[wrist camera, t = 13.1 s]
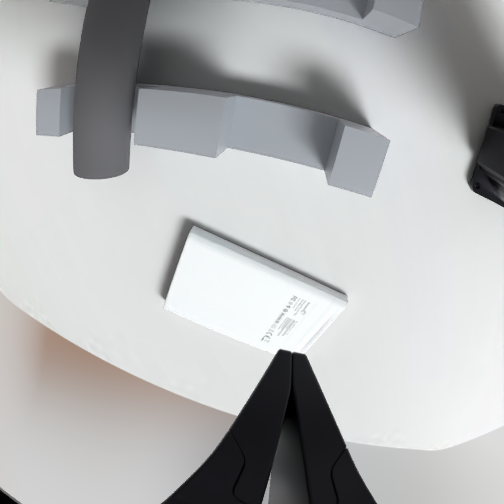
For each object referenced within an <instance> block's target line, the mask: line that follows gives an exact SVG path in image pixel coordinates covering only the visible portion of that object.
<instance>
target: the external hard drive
mask: <svg viewBox="0 0 504 504" xmlns="http://www.w3.org/2000/svg"><path fill="white" fill-rule="evenodd" d="M347 303H348V299H347V296H346V295H344V294H342V293H340V292H337V291H335V290H333V289H331V288H329V287H327V286H325V285H322V284H320V283H318V282H316V281H314V280H312V279H309V278H307V277H305V276H303V275H301V274H299V273H297V272H294V271H292V270H290V269H288V268H286V267H283V266H281V265H279V264H277V263H275V262H273V261H270V260H268V259H266V258H264V257H262V256H259V255H257V254H255V253H253V252H251V251H249V250H246V249H244V248H242V247H240V246H238V245H236V244H233V243H231V242H229V241H227V240H225V239H222V238H220V237H218V236H216V235H214V234H212V233H209V232H207V231H205V230H203V229H201V228H198V227H196V226H193V228H192V229H191V230H190V232H189V235H188V237H187V240H186V243H185V245H184V248H183V251H182V254H181V256H180V259H179V262H178V265H177V268H176V271H175V274H174V277H173V280H172V282H171V285H170V288H169V291H168V294H167V297H166V300H165V304H164V307H163V308H165V309H167V310H169V311H171V312H173V313H175V314H177V315H180V316H182V317H184V318H186V319H189V320H191V321H193V322H196V323H198V324H200V325H203V326H205V327H207V328H210V329H212V330H214V331H217V332H219V333H222V334H224V335H226V336H229V337H231V338H234V339H236V340H239V341H241V342H244V343H246V344H249V345H252V346H254V347H257V348H259V349H262V350H265V351H267V352H270V353H273V354H275V355H276V353H277V351H278V350H279V349H284V350H289V351H291V352H298V353H303V354H304V353H305V352H306V351H307V350H308V349H309V348H310V347H311V345H312V344H313V343H314V342H315V341H316V340H317V339H318V338H319V337H320V336H321V335H322V334H323V332H324V331H325V330H326V329H327V328H328V327H329V326H330V325H331V323H332V322H333V321H334V320H335V319H336V318H337V317H338V315H339V314H340V313H341V312H342V311H343V310H344V308H345V307H346V305H347Z"/></svg>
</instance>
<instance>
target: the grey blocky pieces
mask: <svg viewBox="0 0 504 504" xmlns="http://www.w3.org/2000/svg"><path fill="white" fill-rule="evenodd" d="M240 1H250V2H258V3H265V4H272V5H278V6H284V7H290V8H295V9H300V10H305V11H309V12H313V13H318V14H322V15H326V16H330V17H333V18H337V19H341V20H344V21H347V22H351V23H354V24H357V25H360V26H363V27H366V28H369V29H372V30H375V31H378V32H381V33H383V34H386V35H389V36H391V37H394V38H395V37H397V36H400V35H402V34H404V33H407V32H409V31H411V30H414V29H416V28H419V23H420V17H421V12H422V6H423V0H240ZM50 2H57V3H65V4H72V5H78V6H84V7H87V5H88V0H50ZM75 84H76V83H74V84H68V85H62V86H56V87H50V88H45V89H40V90H37V106H36V135H43V136H58V137H60V136H62V135H65V134H68V133H70V132H73V117H74V97H75ZM131 133H135V135H134V145H141V146H148V147H154V148H161V149H167V150H173V151H179V152H185V153H191V154H196V155H202V156H207V157H212V158H216V157H218V156H219V155H220V154H221V153H222V152H223V151H224V150H225V149H226V148H232V149H237V150H242V151H247V152H251V153H256V154H260V155H265V156H269V157H274V158H278V159H282V160H286V161H290V162H294V163H298V164H302V165H306V166H310V167H313V168H317V169H321V170H324V171H325V174H326V178H327V182H328V185H331V186H334V187H338V188H341V189H345V190H348V191H351V192H355V193H358V194H361V195H365V196H368V197H372V194H373V191H374V188H375V185H376V183H377V180H378V177H379V174H380V171H381V168H382V165H383V162H384V159H385V156H386V153H387V149H388V146H389V143H390V140H389V139H387V138H386V137H384V136H383V135H381V134H380V133H378V132H377V131H375V130H374V129H372V128H370V127H367V126H364V125H361V124H358V123H354V122H351V121H348V120H345V119H342V118H338V117H335V116H331V115H328V114H324V113H321V112H317V111H313V110H309V109H305V108H301V107H297V106H293V105H289V104H285V103H280V102H275V101H271V100H266V99H261V98H256V97H250V96H245V95H239V94H233V93H227V92H220V91H213V90H206V89H198V88H189V87H180V86H169V85H155V84H137V83H136V86H135V94H134V103H133V114H132V126H131Z"/></svg>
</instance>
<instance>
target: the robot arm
mask: <svg viewBox="0 0 504 504" xmlns="http://www.w3.org/2000/svg"><path fill="white" fill-rule="evenodd" d="M500 109H501V114H500V113H499V110H500ZM476 183H478V186H477V187H475V184H476ZM469 185H470V188H471V190H473V191H474V192H475V193H477V194H479V195H481V196H483V197H485V198H487V199H489V200H491V201H493V202H495V203H497V204H499V205H500V206H502V207H504V105H501V104H496V105H495V106H494V108H493V112H492V116H491V120H490V123H489V127H488V128H487V131H486V135H485V138H484V141H483V144H482V147H481V150H480V153H479V156H478V159H477V164H476V167H475V170H474V172H473V175H472V178H471V180H470V184H469ZM345 448H346V444H345V442H344V439H343V437H342V435H341V433H340V430H339V428H338V426H337V424H336V421H335V419H334V417H333V414H332V412H331V410H330V408H329V405H328V403H327V401H326V399H325V396H324V394H323V392H322V390H321V387H320V385H319V383H318V381H317V378H316V376H315V374H314V372H313V369H312V367H311V365H310V363H309V360H308V358H307V356H306V355H305V354H303V353H298V352H291V351H289V350H284V349H279V350H278V351H277V353H276V355H275V356H274V358H273V360H272V361H271V363H270V365H269V366H268V368H267V370H266V371H265V373H264V375H263V376H262V378H261V380H260V381H259V383H258V385H257V386H256V388H255V390H254V391H253V393H252V394H251V396H250V398H249V399H248V401H247V402H246V404H245V405H244V407H243V409H242V410H241V412H240V413H239V415H238V416H237V418H236V419H235V421H234V423H233V424H232V426H231V427H230V429H229V431H228V432H227V433H226V434H225V436H224V438H223V439H222V441H221V442H220V443H219V445H218V446H217V447H216V449H215V450H214V451H213V453H212V454H211V455H210V456H209V457H208V458H207V460H206V461H205V462H204V463H203V464H202V465H201V466H200V467H199V468H198V469H197V470H196V471H195V472H194V473H193V474H192V475H191V476H190V477H189V478H188V479H187V480H186V481H185V483H183V484H182V485H181V486H180V487H179V488H178V489H177V490H176V491H175V492H174V493H173V494H172V495H171V496H169V497H168V498H167V499H166V500H165V501H164V502H162V503H161V504H262V501H263V497H264V494H265V490H266V487H267V483H268V480H269V476H270V473H271V480H270V492H269V503H268V504H377V503H376V501H375V500H374V498H373V496H372V495H371V493H370V491H369V490H368V488H367V487H366V485H365V483H364V481H363V479H362V478H361V476H360V474H359V472H358V470H357V468H356V466H355V464H354V462H353V460H352V458H351V455H350V453H349V451H348V449H347V448H346V449H345ZM0 504H21V503H20V502H19V501H17V500H16V499H15V498H13V497H12V496H10V495H9V494H8V493H7V492H5V491H4V490H3V489H1V488H0Z"/></svg>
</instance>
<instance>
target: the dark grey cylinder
mask: <svg viewBox="0 0 504 504" xmlns="http://www.w3.org/2000/svg"><path fill="white" fill-rule="evenodd" d="M149 4H150V0H88V5H87V9H86V14H85V19H84V24H83V30H82V36H81V42H80V49H79V56H78V64H77V73H76V84H75V97H74V117H73V169H74V174H75V175H76V176H78V177H80V178H84V179H106V178H112V177H116V176H119V175H122V174H124V173H126V172H127V171H128V170H129V158H130V140H131V126H132V114H133V103H134V94H135V86H136V78H137V70H138V63H139V57H140V51H141V45H142V39H143V33H144V28H145V23H146V18H147V13H148V9H149Z"/></svg>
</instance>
